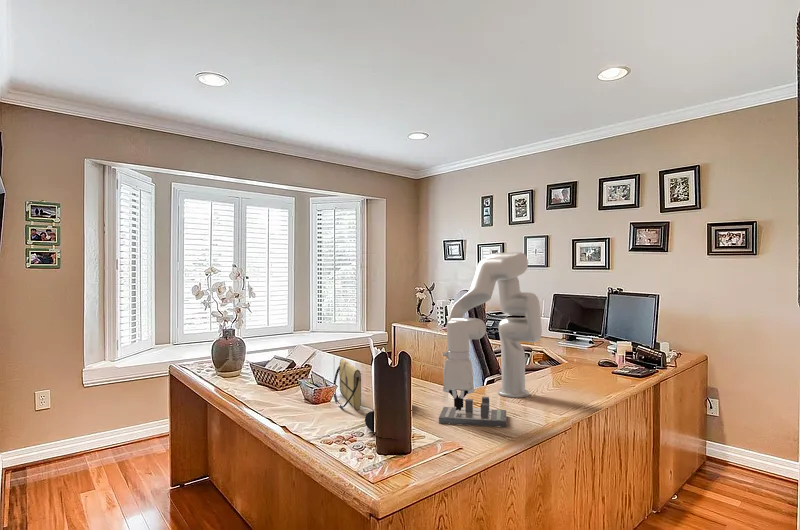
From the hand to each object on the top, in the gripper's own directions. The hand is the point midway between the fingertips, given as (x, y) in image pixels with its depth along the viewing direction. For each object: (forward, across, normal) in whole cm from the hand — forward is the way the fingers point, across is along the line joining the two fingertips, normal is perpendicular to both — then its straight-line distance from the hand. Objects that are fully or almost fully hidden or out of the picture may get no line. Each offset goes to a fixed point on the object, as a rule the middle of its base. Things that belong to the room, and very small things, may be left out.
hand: (458, 409), depth 160 cm
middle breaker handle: (+1, +4, 0) cm, 4 cm away
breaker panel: (+3, +5, 0) cm, 6 cm away
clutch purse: (+4, -46, +13) cm, 48 cm away
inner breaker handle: (+1, +9, +5) cm, 10 cm away
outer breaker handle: (+1, +9, -4) cm, 10 cm away
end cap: (+4, -23, -16) cm, 28 cm away
